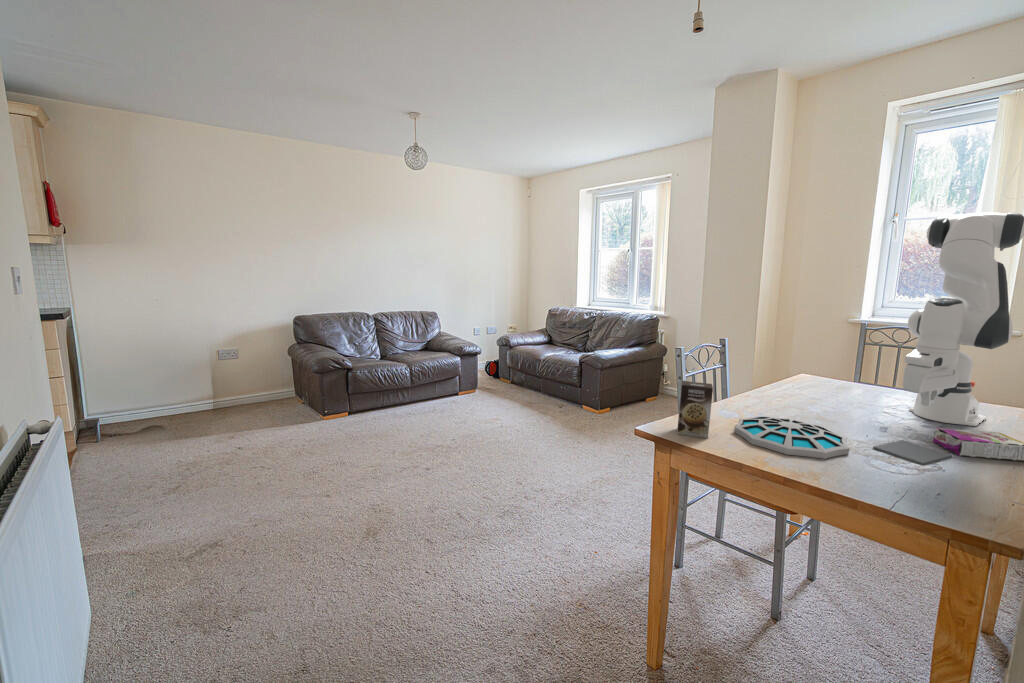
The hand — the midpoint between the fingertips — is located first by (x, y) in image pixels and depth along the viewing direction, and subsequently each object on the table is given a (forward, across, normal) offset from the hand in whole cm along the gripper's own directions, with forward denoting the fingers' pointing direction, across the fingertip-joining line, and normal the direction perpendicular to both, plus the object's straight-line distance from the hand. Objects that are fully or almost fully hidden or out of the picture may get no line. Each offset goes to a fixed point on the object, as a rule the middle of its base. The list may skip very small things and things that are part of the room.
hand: (927, 404), depth 128 cm
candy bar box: (+12, -10, +1) cm, 15 cm away
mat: (+14, +3, 0) cm, 14 cm away
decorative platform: (+15, +26, -21) cm, 37 cm away
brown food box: (+14, +51, -35) cm, 64 cm away
